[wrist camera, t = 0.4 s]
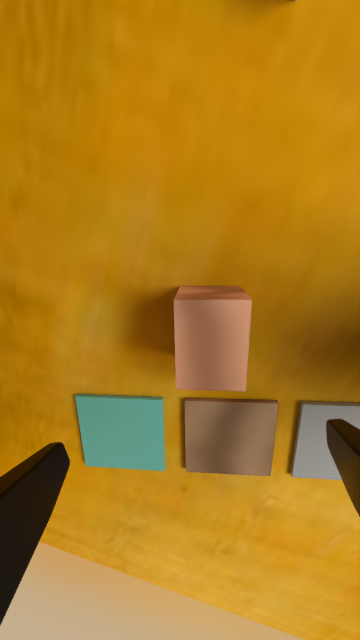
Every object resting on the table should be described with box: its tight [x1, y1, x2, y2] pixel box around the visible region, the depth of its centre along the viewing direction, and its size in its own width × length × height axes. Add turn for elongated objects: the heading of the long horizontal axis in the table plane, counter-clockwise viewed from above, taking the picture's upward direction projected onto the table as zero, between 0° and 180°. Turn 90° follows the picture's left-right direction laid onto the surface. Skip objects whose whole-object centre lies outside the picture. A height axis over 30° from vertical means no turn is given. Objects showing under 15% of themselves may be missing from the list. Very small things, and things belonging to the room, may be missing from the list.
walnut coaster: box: [185, 398, 279, 476], centre depth 23 cm, size 8×8×1 cm
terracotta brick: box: [174, 286, 252, 391], centre depth 18 cm, size 4×6×5 cm
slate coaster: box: [291, 401, 360, 480], centre depth 22 cm, size 8×8×1 cm
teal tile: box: [75, 394, 166, 471], centre depth 24 cm, size 8×8×1 cm
